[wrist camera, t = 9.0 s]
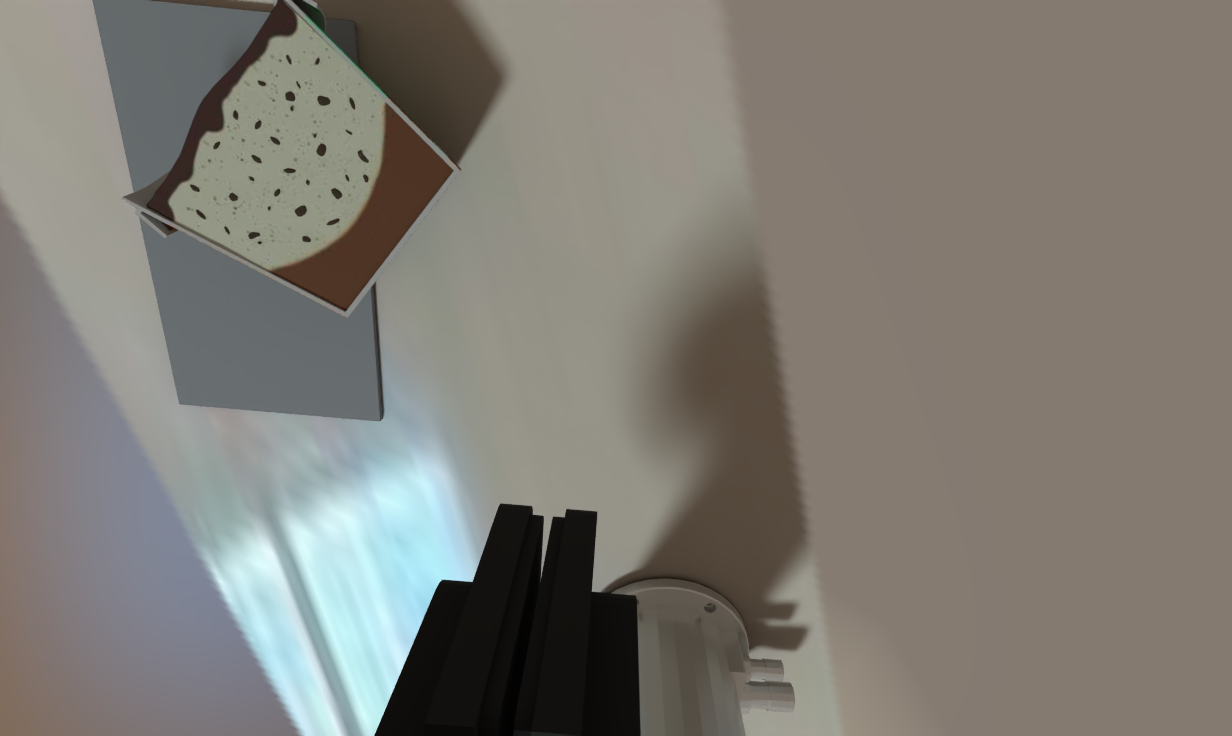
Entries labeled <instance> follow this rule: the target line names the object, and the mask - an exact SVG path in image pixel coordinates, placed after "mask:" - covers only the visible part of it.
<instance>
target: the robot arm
mask: <svg viewBox="0 0 1232 736" xmlns="http://www.w3.org/2000/svg"><path fill="white" fill-rule="evenodd" d="M543 524H544V517H543V516H540V515H533V508H532V506H524V505H512V504H500V505H499V507H498V510H497V513H496V516H495V519H494V522H493V524H492V527H491V530H490V533H489V536H488V539H487V542H486V545H485V548H484V551H483V554H482V556H481V559H480V562H479V565H478V568H477V571H476V574H475V577H474V580H473V582H464V581H452V580H442V581H441V582H440V583H439V585H438V586H437V588H436V590H435V593H434V595H433V597H432V600H431V602H430V605H429V607H428V609H427V612H426V614H425V616H424V619H423V621H422V624H421V626H420V628H419V631H418V633H417V636H416V638H415V640H414V643H413V645H412V647H411V650H410V652H409V655H408V657H407V659H406V662H405V664H404V666H403V669H402V671H401V674H400V676H399V678H398V681H397V683H396V685H395V688H394V690H393V693H392V695H391V697H390V700H389V702H388V705H387V707H386V709H385V712H384V714H383V716H382V719H381V721H380V724H379V726H378V728H377V731H376V733H375V735H374V736H746V734H745V729H744V724H743V719H742V714H741V713H743V714H748V713H749V711H750V708H756V709H766V710H767V711H778V712H793V710H794V705H795V697H794V690H793V687H792V685H791V683H789V682H782V681H783V677H784V668H783V663H782V661H781V660H773V659H762V660H760V659H750V657H749V642H748V637H747V633H746V629H745V626H744V623H743V620H742V618H741V616H740V615H739V613H738V612H737V610H736V609H735V607H734V606H733V605H732V604H730V603H729V602H728V601H727V600H726V599H725V598H724V597H723V596H721V595H720V594H718V593H716V592H715V591H713V590H712V589H709V588H707V587H705V586H702V585H700V584H697V583H693V582H689V581H685V580H678V579H665V578H664V579H650V580H644V581H640V582H635V583H631V584H629V585H626V586H624V587H621V588H619V589H617V590H615V591H613V592H612V593H600V592H592V579H593V565H594V551H595V538H596V524H597V512H595V511H583V510H571V509H566V514H565V518H564V517H553V519H552V524H551V530H550V535H549V540H548V545H547V551H546V556H545V561H544V566H543V572H542V577H541V561H542V542H543ZM540 580H541V582H540ZM750 678H755V679H763V680H765V682H759V681H750ZM766 680H767V681H766ZM780 681H781V682H780Z"/></svg>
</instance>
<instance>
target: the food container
mask: <svg viewBox="0 0 1232 736" xmlns="http://www.w3.org/2000/svg"><path fill="white" fill-rule="evenodd" d="M326 25H327V24H326V15H325V12H324V10H323V8H322V7H321V6H320V5H319V4H317V3H316V2H314V1H312V0H274V9H273V10H272V12H271V13H270V15H269V16H268V18H267V20H266V21H265V23H264V24H263V26H262V27H261V29H260V30H259V32H258V34H257V35H256V37H255V38H254V40H253V41H252V43H251V44H250V46H249V48H248V49H247V50H246V52H245V53H244V54H243V55H242V56H241V58H240V59H239V60H238V61H237V62H236V64H235V65H234V66H233V67H232V68H231V69H230V70H229V71H228V72H227V73H226V74H225V75H224V76H223V77H222V78H221V79H220V80H219V81H218V82H217V83H216V84H215V85H214V86H213V87H212V89H211V90H210V91H209V92H208V94H207V95H206V96H205V97H204V98H203V100H202V102H201V103H200V105H199V107H198V109H197V111H196V114H195V116H194V118H193V121H192V124H191V126H190V129H189V132H188V134H187V137H186V140H185V142H184V145H183V148H182V151H181V153H180V156H179V157H178V159H177V161H176V162H175V164H174V166H173V167H172V169H171V170H170V171H169V172H167V173H166V174H165V175H163V176H162V177H161V178H159V179H158V180H156V181H154V182H153V183H151V184H150V185H148V186H147V187H145V188H143V189H140V190H138V191H136V192H134V193H132V194H129V195H127V196H124V197H122V199H123V200H125V201H126V202H127V203H129V204H130V205H132V206H133V207H135V208H136V209H137V210H136V212H135V214H136V215H138V216H139V217H140V218H141V219H142V220H144V221H145V222H146V223H147V224H148V225H150V226H151V227H152V228H153V229H154V230H156V231H157V232H158V233H159V234H160V235H162V236H163V237H164V238H166V237H168V236H170V235H172V234H174V233H176V232H177V231H181V232H183V233H185V234H187V235H189V236H191V237H192V238H194V239H196V240H198V241H200V242H202V243H204V244H206V245H208V246H210V247H212V248H214V249H216V250H217V251H219V252H221V253H223V254H225V255H227V256H229V257H231V258H233V259H235V260H237V261H239V262H240V263H242V264H244V265H246V266H248V267H250V268H252V269H254V270H256V271H258V272H260V273H262V274H263V275H265V276H267V277H269V278H271V279H273V280H275V281H277V282H279V283H281V284H283V285H285V286H286V287H288V288H290V289H292V290H294V291H296V292H298V293H300V294H302V295H304V296H306V297H308V298H310V299H311V300H313V301H315V302H317V303H319V304H321V305H323V306H325V307H327V308H329V309H331V310H333V311H334V312H336V313H338V314H340V315H342V316H344V317H346V318H348V317H349V315H350V314H351V313H352V311H353V310H354V309H355V307H356V306H357V305H358V304H359V302H360V301H361V300H362V298H363V297H364V296H365V294H366V293H367V292H368V291H369V289H370V288H371V287H372V285H373V284H374V283H375V281H376V280H377V279H378V278H379V276H380V275H381V274H382V272H383V271H384V270H385V268H386V267H387V266H388V265H389V263H390V262H391V261H392V259H393V258H394V257H395V255H396V254H397V253H398V252H399V250H400V249H401V248H402V246H403V245H404V244H405V243H406V241H407V240H408V239H409V237H410V236H411V235H412V233H413V232H414V231H415V230H416V228H417V227H418V226H419V224H420V223H421V222H422V220H423V219H424V218H425V217H426V215H427V214H428V213H429V211H430V210H431V209H432V207H433V206H434V205H435V204H436V202H437V201H438V200H439V198H440V197H441V196H442V194H443V193H444V192H445V191H446V189H447V188H448V187H449V185H450V184H451V183H452V181H453V180H454V179H455V178H456V176H457V175H458V174H459V172H460V171H461V169H460V168H459V167H458V166H457V165H456V164H455V163H454V162H453V161H452V160H451V159H450V158H449V157H448V156H447V155H446V154H445V153H444V152H443V151H442V150H441V149H440V148H439V147H438V146H437V145H436V144H435V143H434V142H433V141H432V140H431V139H430V138H429V137H428V136H427V135H426V134H425V133H424V132H423V131H422V130H421V129H420V128H419V127H418V126H417V125H416V124H415V123H414V122H413V121H412V120H411V119H410V118H409V117H408V116H407V115H406V114H405V113H404V112H403V110H402V109H401V108H400V107H399V106H398V105H397V104H396V103H395V102H394V101H393V100H392V99H391V98H390V97H389V96H388V95H387V94H386V93H385V92H384V91H383V90H382V89H381V88H380V87H379V86H378V85H377V84H376V83H375V82H374V81H373V80H372V79H371V78H370V77H369V76H368V75H367V74H366V73H365V72H364V71H363V70H362V69H361V68H360V67H359V66H358V65H357V64H356V63H355V62H354V61H353V60H352V59H351V58H350V57H349V56H348V55H347V54H346V53H345V52H344V51H343V50H342V49H341V48H340V47H339V46H338V45H337V44H336V43H335V42H334V41H333V40H332V39H331V38H330V37H329V36H328V35H327V34H326Z"/></svg>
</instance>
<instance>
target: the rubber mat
mask: <svg viewBox="0 0 1232 736" xmlns="http://www.w3.org/2000/svg"><path fill="white" fill-rule="evenodd" d="M93 4H94V9H95V14H96V18H97V23H98V28H99V32H100V37H101V42H102V46H103V51H104V56H105V60H106V65H107V70H108V74H109V79H110V84H111V88H112V93H113V97H114V102H115V107H116V111H117V116H118V121H119V125H120V130H121V135H122V139H123V144H124V149H125V153H126V158H127V163H128V167H129V172H130V177H131V181H132V186H133V191H134V192H136V191H138V190H140V189H143V188H145V187H147V186H148V185H150V184H151V183H153V182H154V181H156V180H158V179H159V178H161V177H162V176H163V175H165V174H166V173H167V172H169V171H170V170H171V169H172V167H173V166H174V164H175V162H176V161H177V159H178V157H179V156H180V153H181V151H182V148H183V145H184V142H185V140H186V137H187V134H188V132H189V129H190V126H191V124H192V121H193V118H194V116H195V114H196V111H197V109H198V107H199V105H200V103H201V102H202V100H203V98H204V97H205V96H206V95H207V94H208V92H209V91H210V90H211V89H212V87H213V86H214V85H215V84H216V83H217V82H218V81H219V80H220V79H221V78H222V77H223V76H224V75H225V74H226V73H227V72H228V71H229V70H230V69H231V68H232V67H233V66H234V65H235V64H236V62H237V61H238V60H239V59H240V58H241V56H242V55H243V54H244V53H245V52H246V50H247V49H248V48H249V46H250V44H251V43H252V41H253V40H254V38H255V37H256V35H257V34H258V32H259V30H260V29H261V27H262V26H263V24H264V23H265V21H266V20H267V18H268V16H269V15H270V13H269V12H259V11H250V10H240V9H230V8H220V7H210V6H200V5H190V4H180V3H170V2H160V1H151V0H93ZM326 24H327V25H326V34H327V35H328V36H329V37H330V38H331V39H332V40H333V41H334V42H335V43H336V44H337V45H338V46H339V47H340V48H341V49H342V50H343V51H344V52H345V53H346V54H347V55H348V56H349V57H350V58H351V59H352V60H353V61H354V62H355V63H356V64H357V65H358V55H357V41H356V26H355V22H353V21H348V20H339V19H329V18H326ZM139 218H140V217H139ZM140 223H141V228H142V232H143V237H144V242H145V246H146V251H147V256H148V260H149V265H150V270H151V274H152V279H153V284H154V288H155V293H156V297H157V302H158V307H159V311H160V316H161V321H162V325H163V330H164V335H165V339H166V344H167V349H168V353H169V358H170V363H171V367H172V372H173V377H174V381H175V386H176V391H177V395H178V400H179V404H183V405H195V406H206V407H218V408H230V409H241V410H253V411H265V412H277V413H288V414H300V415H312V416H323V417H335V418H347V419H358V420H370V421H381V420H382V419H383V417H382V403H381V388H380V374H379V359H378V345H377V330H376V316H375V301H374V287H373V285H372V287H371V288H370V289H369V291H368V292H367V293H366V294H365V296H364V297H363V298H362V300H361V301H360V302H359V304H358V305H357V306H356V307H355V309H354V310H353V311H352V313H351V314H350V315H349V317H348V318H346V317H344V316H342V315H340V314H338V313H336V312H334V311H333V310H331V309H329V308H327V307H325V306H323V305H321V304H319V303H317V302H315V301H313V300H311V299H310V298H308V297H306V296H304V295H302V294H300V293H298V292H296V291H294V290H292V289H290V288H288V287H286V286H285V285H283V284H281V283H279V282H277V281H275V280H273V279H271V278H269V277H267V276H265V275H263V274H262V273H260V272H258V271H256V270H254V269H252V268H250V267H248V266H246V265H244V264H242V263H240V262H239V261H237V260H235V259H233V258H231V257H229V256H227V255H225V254H223V253H221V252H219V251H217V250H216V249H214V248H212V247H210V246H208V245H206V244H204V243H202V242H200V241H198V240H196V239H194V238H192V237H191V236H189V235H187V234H185V233H183V232H181V231H177V232H176V233H174V234H172V235H170V236H168V237H166V238H164V237H163V236H162V235H160V234H159V233H158V232H157V231H156V230H154V229H153V228H152V227H151V226H150V225H148V224H147V223H146V222H145V221H144V220H142V219H141V218H140Z"/></svg>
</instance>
